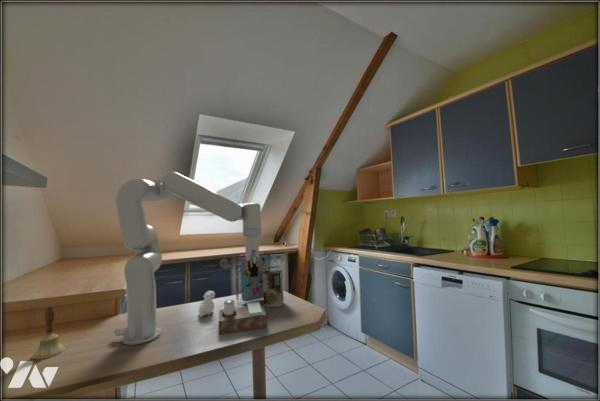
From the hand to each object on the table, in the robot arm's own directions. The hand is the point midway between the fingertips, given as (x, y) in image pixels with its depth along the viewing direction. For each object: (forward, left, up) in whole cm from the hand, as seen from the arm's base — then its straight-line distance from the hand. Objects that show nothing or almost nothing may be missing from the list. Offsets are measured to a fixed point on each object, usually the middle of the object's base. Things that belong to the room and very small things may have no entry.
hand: (253, 273), depth 110 cm
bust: (-20, +18, -20) cm, 34 cm away
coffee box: (+11, +18, -20) cm, 29 cm away
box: (-2, +25, -20) cm, 32 cm away
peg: (-10, 0, -20) cm, 22 cm away
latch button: (0, 0, -19) cm, 19 cm away
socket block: (-5, 0, -20) cm, 21 cm away
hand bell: (-70, 0, -20) cm, 73 cm away
